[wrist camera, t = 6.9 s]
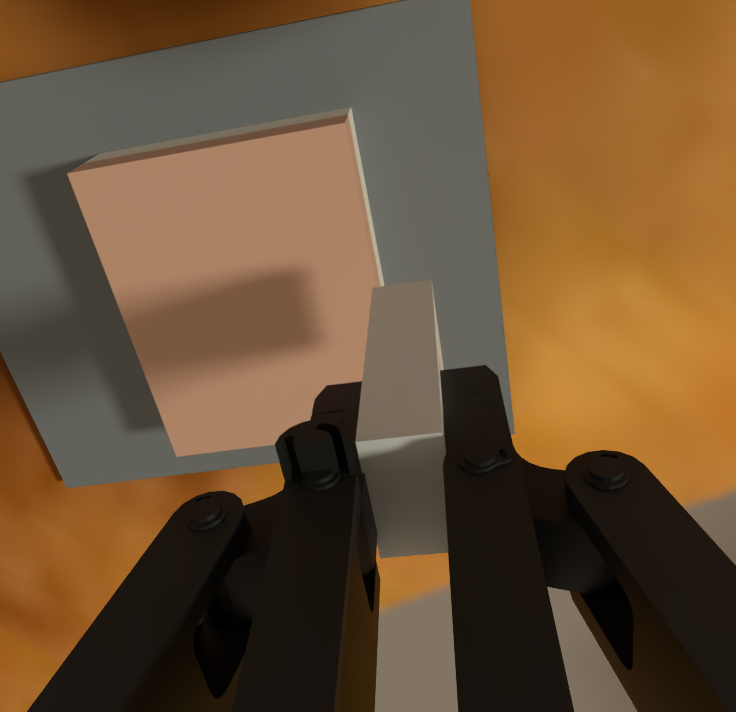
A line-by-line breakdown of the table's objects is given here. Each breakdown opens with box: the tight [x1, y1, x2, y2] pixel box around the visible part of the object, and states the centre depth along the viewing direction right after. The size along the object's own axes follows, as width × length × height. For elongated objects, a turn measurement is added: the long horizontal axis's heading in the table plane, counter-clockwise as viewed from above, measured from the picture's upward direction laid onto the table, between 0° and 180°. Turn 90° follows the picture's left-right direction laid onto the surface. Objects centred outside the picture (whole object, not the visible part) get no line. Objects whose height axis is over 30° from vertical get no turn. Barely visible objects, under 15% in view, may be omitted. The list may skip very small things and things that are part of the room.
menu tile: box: [67, 107, 384, 457], centre depth 23 cm, size 10×2×8 cm
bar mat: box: [0, 0, 515, 488], centre depth 24 cm, size 15×18×1 cm
